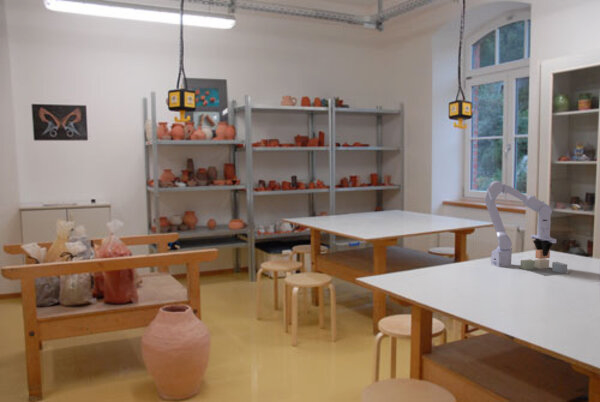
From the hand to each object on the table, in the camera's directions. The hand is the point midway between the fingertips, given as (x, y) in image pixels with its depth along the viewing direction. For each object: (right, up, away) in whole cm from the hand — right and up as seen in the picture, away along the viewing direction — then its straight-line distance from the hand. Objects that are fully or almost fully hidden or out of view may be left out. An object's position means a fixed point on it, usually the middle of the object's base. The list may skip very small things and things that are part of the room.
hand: (542, 255), depth 248 cm
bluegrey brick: (+5, -7, -7) cm, 11 cm away
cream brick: (0, -6, +1) cm, 6 cm away
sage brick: (-8, -7, -1) cm, 10 cm away
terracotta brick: (0, -1, 0) cm, 2 cm away
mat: (-2, -8, -6) cm, 10 cm away
